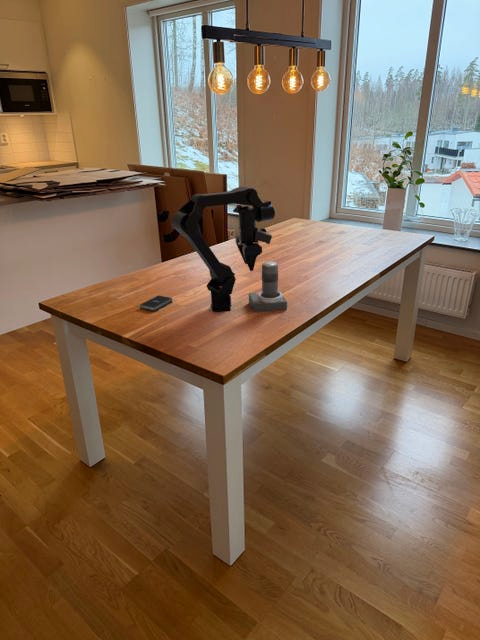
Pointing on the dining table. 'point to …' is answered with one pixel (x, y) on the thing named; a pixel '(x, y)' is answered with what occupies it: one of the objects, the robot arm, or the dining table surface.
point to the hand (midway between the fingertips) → (249, 267)
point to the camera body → (267, 302)
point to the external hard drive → (156, 303)
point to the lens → (270, 280)
